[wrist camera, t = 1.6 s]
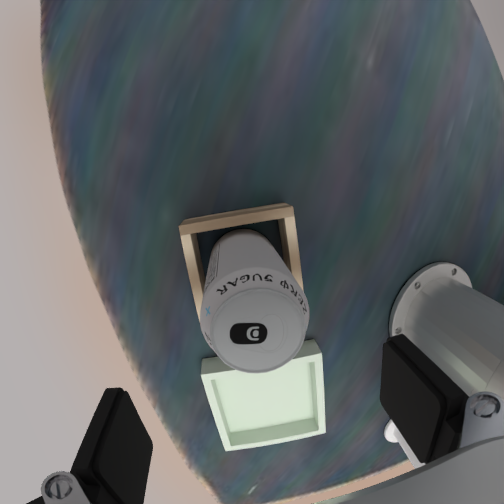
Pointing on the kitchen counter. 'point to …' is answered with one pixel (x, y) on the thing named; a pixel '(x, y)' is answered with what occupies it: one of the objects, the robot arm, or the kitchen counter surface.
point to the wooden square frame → (234, 219)
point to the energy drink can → (252, 304)
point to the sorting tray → (267, 400)
